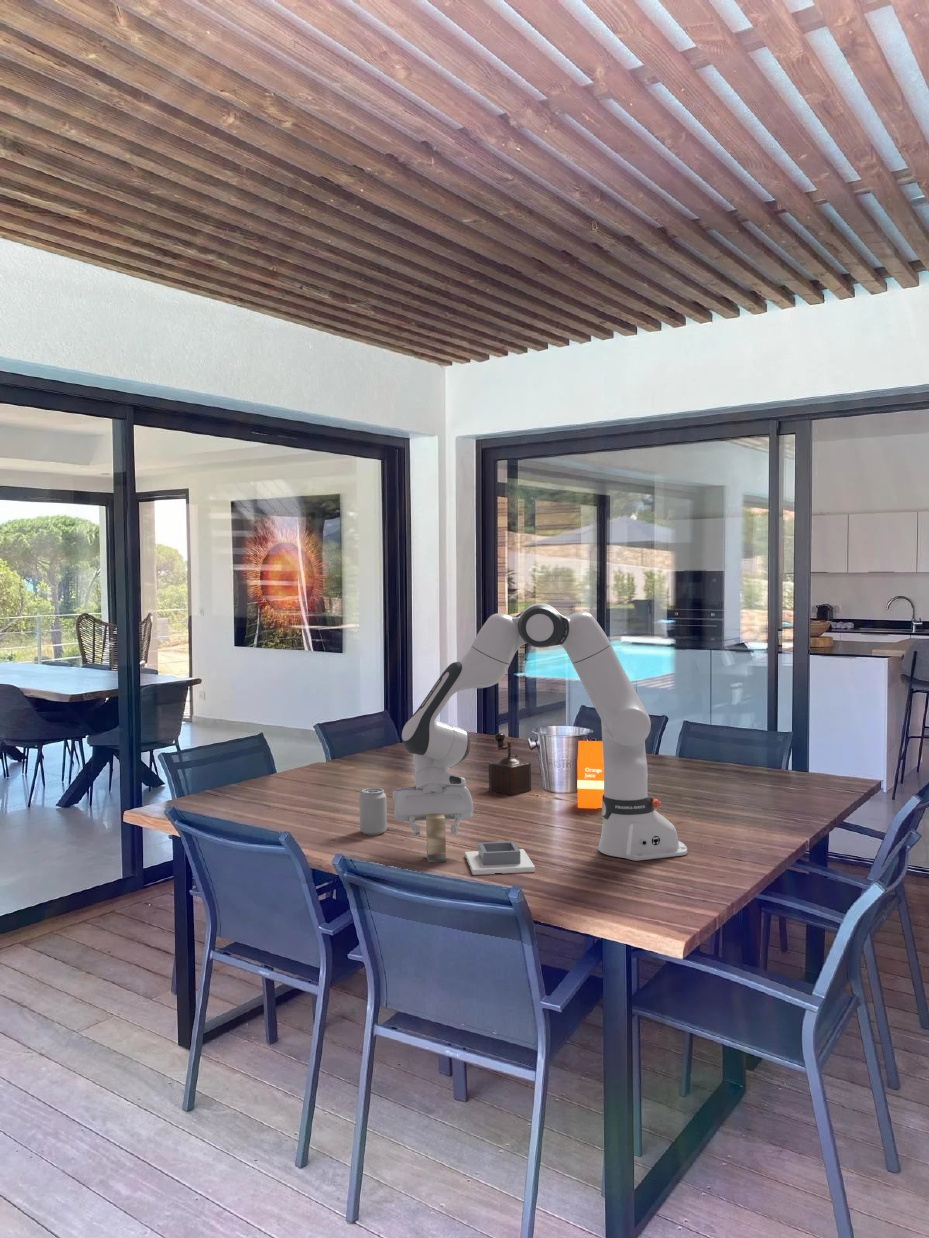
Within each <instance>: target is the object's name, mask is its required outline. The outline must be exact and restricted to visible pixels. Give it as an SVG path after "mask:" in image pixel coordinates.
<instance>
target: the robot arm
mask: <svg viewBox="0 0 929 1238" xmlns="http://www.w3.org/2000/svg"><path fill="white" fill-rule="evenodd" d="M474 638H475V639H474V640H473V642H472V644H471V646H470V647H469V649H468V651H467V653H466V654H465V655H464V656H463V657H461V658H460V659H459V660H458V661H455V662H454V661H453V662H452V663H450V664H449V665H448V666H447V667H446V668H445V669H444V671H443V672H442V673H441V675H440V676H439V678H438V679H437V681H436V682H435V683H434V685H432V688H431V689H430V691H429V692H428V694H427V695H426V697H424V700H423V701H422V703H421V704H420V705H419V707H418V708H417V709H416V710H415V712H414V713H413V714H412V715H411V716H410V717H409V718H408V720H407V721H406V722H405V723H404V725H403V727H402V730H401V735H400V736H401V737H400V738H401V740H402V744H403V747H405V749H406V751H407V752H408V753H409V754H412V758H413V759H412V761H413V767H414V769H415V770H414V771H415V772H414V786H407V787H406V786H405V787H404V786H399V787H397V788H396V789H394V790H393V791H392V795H391V797H392V801H393V802H394V820H395V821H397V822H398V823H399V822H400V823H401V822H402V823H403V822H408V826H410V828H411V829H412V831H413V836H420V835H421V830H420V828H421V827H420V826H419V825H416V823H415V822H420V821H421V822H425V821H426V814H444V816H445V821H446V820H453V821H454V824H451V825H450V831H451V832H450V833H451V835H455V834H456V835H458V827H459V825H460V823H461V820H470V819H471V818H472V817H473V816H474V811H475V810H474V809H475V808H474V803H473V797H472V795H471V794H472V793H471V791H470V790H469V789H468V788H467V782H466V778H465V777H462V776H458V775H454V774H450V773H448V770H449V769H451V768H453V767H455V766H457V765H459V764H460V763H461V762H463V761H464V760H465V759H466V758H467V757H468V756H469V753H470V749H471V741H470V736H469V734H468V732H467V731H466V729H465V728H461V727H458V726H456V725H454V724H453V725H452V724H451V723H450V724H449V723H446V722H442V721H441V720H437V718H438V717H439V715H440V713H441V712H442V710H443V709H444V708H445V706H446V705H447V703H448V702H449V700H450V698H451V697H452V696H453V695H455V694H456V693H457V692H460V691H465V690H469V689H485V688H490V687H492V686H494V685H497V684H498V683H500V681H502V680H503V678H504V677H505V675H506V673H507V671H508V670H509V667H510V666H511V663H512V661H513V659H514V656H515V654H516V653H517V651H518V650H519V649H520V648H521V647H522V646H523V645H525V644H526V645H529V646H531V647H534V648H539V649H541V648H542V649H544V648H548V647H554V646H562V648H563V649H564V650H565V652H566V654H567V656H568V658H569V660H570V662H571V663H572V666H573V668H574V670H575V672H576V674H577V675H578V678H579V680H580V683H581V684H582V686H583V688H584V690H585V691H586V693H587V695H588V698H589V699H590V701H591V703H592V705H593V706H594V708H595V711H596V713H597V714H598V717H599V718H600V721H601V722H600V723H601V725H600V726H601V741H602V746H603V760H604V794H603V796H602V809H601V814H602V827H601V833H600V834H601V836H600V840H599V843H598V846H597V850H598V852H600V853H602V854H604V855H607V856H611V857H617V858H623V859H627V860H631V861H636V862H637V861H645V860H654V859H663V858H664V859H665V858H671V857H678V856H679V857H680V856H686V855H687V854H688V847H687V845H686V844H684V842H682V841H680V840H679V836H678V832H677V829H676V827H675V826H674V824H673V823H671V821H669V820H668V819H667V818H666V817H664V816H663V815H662V814H661V813H659V812H658V811H657V810H656V809H659V808H660V807H662V806H661V805H662V801H660V800H659V799H657V798H655V797H652V796H650V795H648V760H647V751H646V743H645V742H646V740H647V738H648V737H649V736H650V735H649V734H650V733H651V726H652V725H651V724H652V722H651V717H650V716H649V714H648V711H647V709H646V708H645V706H644V704H643V702H642V700H641V698H640V697H639V695H638V693H637V691H636V689H635V687H634V685H633V683H632V682H631V680H630V678H629V676H628V675H627V673H626V671H625V669H624V668H623V666H622V663H621V661H620V660H619V657H618V656H617V653H616V652H615V650H614V648H613V645H612V643H611V641H610V640H609V637H608V636H607V634H606V632H605V631H604V629H603V628H602V627H601V625H600V623H599V622H598V621H597V620H596V618H595V617H594V616H593V615H592V614H591V613H589V612H586V611H579V612H578V611H577V612H573V613H571V614H570V615H563V614H561V613H560V612H559V611H558V610H557V609H556V608H555V607H554V606H552V605H550V604H548V603H543V602H537V603H532V604H531V605H529V606H528V607H526V608H525V609H523V610H522V611H520V613H518V614H517V615H515V616H512V615H509V614H507V613H500V612H498V613H494V614H491V615H490V616H489V617H488V618H487V620H486V621H485V622H484V624H483V625H482V627H481V628H480V630H479V631H478V633H477V634H476V637H474Z"/></svg>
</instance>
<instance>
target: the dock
mask: <svg viewBox="0 0 929 1238" xmlns="http://www.w3.org/2000/svg"><path fill="white" fill-rule="evenodd" d="M477 845H478V850H472V851H470V850H469V851H464V857H465V859H467V860H466V861H467V863H468V866H470V867H469V868H470V872H471V875H474V876H478V875H496V874H495V873H502V874H515V873H517V874H519V873H520V874H521V873H535V872H536V865H535V864H534V863H533V862H532V860H531V858H530V857H529V855H528V853H527V852H526V851H525V849H524V848H519V847H518V845H517V844H516V843H515V841H514V840H513V841H511V840H510V841H509V840H508V841H487V842H486V841H485V842H478V844H477Z"/></svg>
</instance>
